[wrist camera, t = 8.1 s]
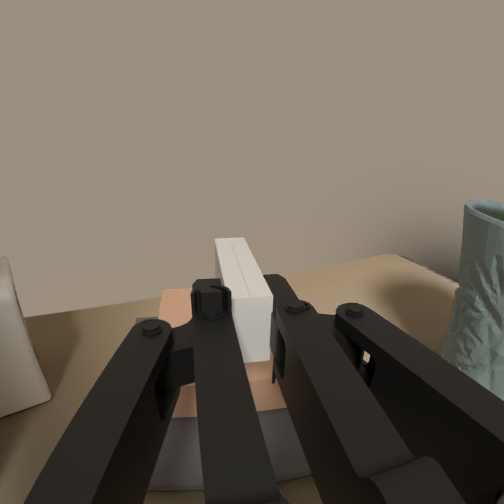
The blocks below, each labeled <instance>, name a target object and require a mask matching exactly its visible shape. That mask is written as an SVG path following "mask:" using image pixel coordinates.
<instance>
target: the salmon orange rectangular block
mask: <svg viewBox="0 0 504 504" xmlns="http://www.w3.org/2000/svg"><path fill="white" fill-rule="evenodd" d="M191 291H192V288H186V289H163V291H162V297H161V303H160V309H159V315H158V319H161V320H165V321H166V322H168V323H170V325H171V327H172V328H174V327H178V326H181V325H184V324H186V323H187V322H189V321H190V320H191V318H192V308H191V295H190V294H191ZM244 365H245V369H246V373H247V376H248V380H249V384H250V388H251V392H252V395H253V399H254V403H255V407H256V410H257V412H258V411H266V410H273V409H280V408H287V406H286V403H285V400H284V398H283V395H282V392H281V389H280V387H279V384H278V381H277V378H276V379H275V384H272V370H273V354H272V351H271V349H270V360H268V361H259V362H249V363H244ZM179 417H197V407H196V391H195V383H191V384H188V385H184V386H181V390H180V395H179V398H178V400H177V403H176V406H175V409H174V412H173V415H172V418H179Z"/></svg>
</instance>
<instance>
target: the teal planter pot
mask: <svg viewBox="0 0 504 504" xmlns="http://www.w3.org/2000/svg"><path fill="white" fill-rule="evenodd" d="M459 278H460V280H459V282H460V283H459V286H460V287H459V288H458V289H456V290H455V296H454V303H453V307H452V312H451V317H450V320H449V328H450V330H449V331H448V333H447V334H446V341H445V342H444V345H443V349H442V353H441V356H440V357H442V358H443V359H445V360H446V361H447V362H449V363H450V364H452V365H453V366H455V367H456V368H458V369H459V370H460V371H462V372H463V373H465V374H466V375H468V376H469V377H470V378H472V379H473V380H475V381H476V382H478V383H479V384H480V385H482V386H483V387H485V388H486V389H488V390H489V391H490V392H492V393H493V394H495V395H496V396H497V397H499V398H500V399H502V400H503V401H504V203H500V202H493V201H482V200H481V201H480V200H479V201H478V200H477V201H468V202H466V204H465V206H464V220H463V237H462V246H461V256H460V263H459Z"/></svg>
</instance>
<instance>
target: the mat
mask: <svg viewBox="0 0 504 504" xmlns="http://www.w3.org/2000/svg"><path fill="white" fill-rule="evenodd" d="M146 319H147V320H148V319H158V317H148V318H137V319H136V323H135V325H136V324H137V323H139V322H141V321H143V320H146ZM257 414H258V418H259V421H260V425H261V429H262V432H263V436H264V440H265V443H266V447H267V450H268V454H269V457H270V461H271V464H272V468H273V471H274V475H275V478H276V481H277V482H278V481H284V480H290V479H295V478H300V477H305V476H309V475H312V473H311V471H310V468H309V465H308V463H307V460H306V457H305V455H304V452H303V449H302V447H301V444H300V441H299V439H298V436H297V433H296V430H295V428H294V425H293V422H292V420H291V417H290V414H289V411H288V409H287V408H280V409H273V410H266V411H258V412H257ZM147 490H150V491H188V490H204V485H203V475H202V466H201V455H200V445H199V433H198V420H197V417H179V418H171V421H170V424H169V427H168V430H167V433H166V435H165V438H164V441H163V444H162V447H161V450H160V453H159V456H158V459H157V462H156V465H155V468H154V471H153V474H152V477H151V480H150V483H149V486H148V489H147Z"/></svg>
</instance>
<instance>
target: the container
mask: <svg viewBox="0 0 504 504" xmlns="http://www.w3.org/2000/svg"><path fill="white" fill-rule="evenodd" d="M50 399H51V392H50V390H49V387H48V385H47V382H46V380H45V377H44V375H43V372H42V369H41V367H40V364H39V361H38V358H37V356H36V353H35V350H34V347H33V344H32V341H31V338H30V335H29V332H28V329H27V326H26V323H25V320H24V317H23V314H22V311H21V307H20V304H19V300H18V297H17V293H16V289H15V285H14V282H13V277H12V274H11V270H10V265H9V261H8V259H7V258H6V257H0V418H1V417H4V416H6V415H9V414H12V413H15V412H18V411H21V410H24V409H27V408H30V407H32V406H35V405H38V404H41V403H44V402H46V401H49V400H50Z"/></svg>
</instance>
